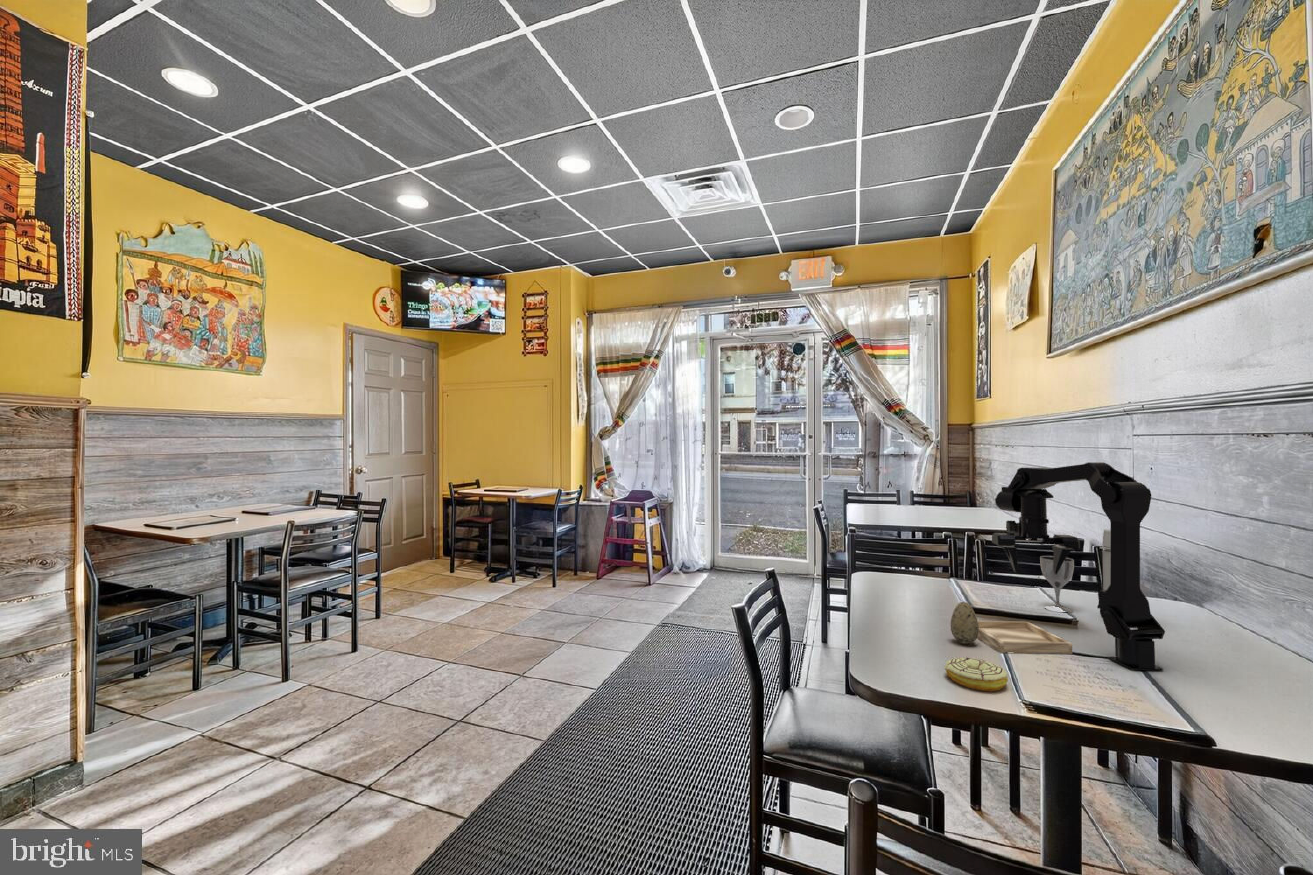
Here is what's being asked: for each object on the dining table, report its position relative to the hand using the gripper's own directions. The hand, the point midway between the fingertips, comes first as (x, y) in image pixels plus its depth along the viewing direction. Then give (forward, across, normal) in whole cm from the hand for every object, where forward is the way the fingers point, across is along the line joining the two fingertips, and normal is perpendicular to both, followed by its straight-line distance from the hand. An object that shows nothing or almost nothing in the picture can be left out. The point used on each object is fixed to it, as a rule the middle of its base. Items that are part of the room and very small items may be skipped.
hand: (1035, 572), depth 143 cm
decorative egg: (+14, +22, +19) cm, 32 cm away
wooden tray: (+14, +10, +14) cm, 22 cm away
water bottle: (+14, -23, -10) cm, 29 cm away
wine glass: (+14, -12, -20) cm, 27 cm away
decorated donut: (+15, +26, +42) cm, 52 cm away
